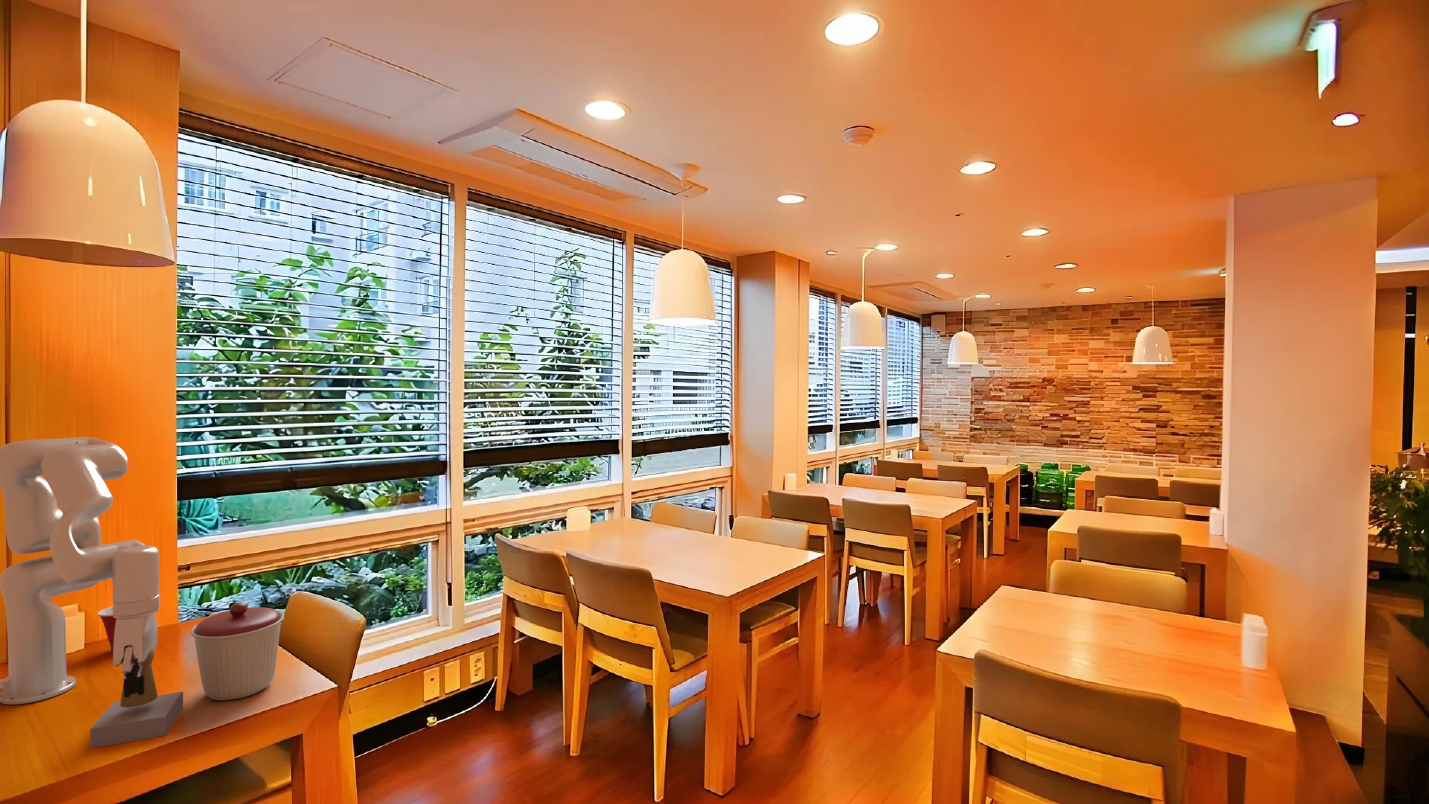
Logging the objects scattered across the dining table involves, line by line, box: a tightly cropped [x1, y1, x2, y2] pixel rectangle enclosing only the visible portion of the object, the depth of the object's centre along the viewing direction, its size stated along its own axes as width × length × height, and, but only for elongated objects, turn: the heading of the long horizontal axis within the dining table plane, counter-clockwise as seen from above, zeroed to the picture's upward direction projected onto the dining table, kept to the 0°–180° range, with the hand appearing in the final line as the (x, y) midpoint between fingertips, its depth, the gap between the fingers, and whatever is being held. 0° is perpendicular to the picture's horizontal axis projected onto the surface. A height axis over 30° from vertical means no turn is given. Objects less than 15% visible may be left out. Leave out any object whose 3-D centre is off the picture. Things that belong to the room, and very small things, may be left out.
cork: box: [120, 649, 158, 707], centre depth 141 cm, size 6×6×11 cm
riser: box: [90, 691, 184, 749], centre depth 141 cm, size 12×12×4 cm
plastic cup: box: [97, 605, 117, 652], centre depth 180 cm, size 11×11×12 cm
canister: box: [189, 602, 285, 701], centre depth 158 cm, size 18×18×21 cm
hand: (138, 689), depth 141 cm, fingers closed on cork, 3 cm apart
